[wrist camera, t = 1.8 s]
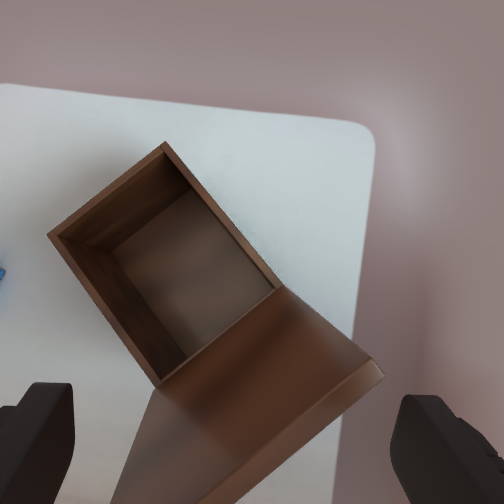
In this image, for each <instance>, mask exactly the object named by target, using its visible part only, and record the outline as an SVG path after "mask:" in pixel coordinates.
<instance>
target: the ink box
mask: <svg viewBox="0 0 504 504" xmlns="http://www.w3.org/2000/svg"><path fill="white" fill-rule="evenodd" d="M4 273H5V271H4V270H2V269H1V268H0V279H1V278H2V276H3V275H4Z"/></svg>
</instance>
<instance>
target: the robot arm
mask: <svg viewBox="0 0 504 504" xmlns="http://www.w3.org/2000/svg"><path fill="white" fill-rule="evenodd" d="M74 445H75V425H74V405H73V389H72V386H71V384H70V383H45V382H35V383H33V384H32V385H31V386H30V387H29V389H28V390H27V392H26V393H25V395H24V396H23V397H22V399H21V400H20V402H19V403H18V405H17V406H3V407H1V408H0V504H54V501H55V499H56V497H57V494H58V492H59V489H60V487H61V485H62V482H63V480H64V478H65V475H66V473H67V471H68V468H69V466H70V463H71V459H72V456H73V451H74ZM390 457H391V462H392V466H393V469H394V471H395V473H396V475H397V477H398V479H399V481H400V483H401V485H402V487H403V489H404V491H405V493H406V495H407V497H408V499H409V501H410V503H411V504H504V460H503V459H502V457H498V453H497V451H496V450H495V449H494V448H493V447H492V446H491V444H490V443H489V442H488V441H487V440H486V438H485V437H484V436H483V435H482V434H481V433H480V432H478V431H477V430H476V429H475V428H473V427H472V426H471V425H469V424H468V423H467V422H465V421H464V420H463V419H462V418H457V417H456V416H455V415H454V414H453V412H452V411H451V410H450V409H449V408H448V406H447V405H446V404H445V403H444V401H443V400H442V399H441V398H440V397H438V396H435V395H406V396H404V398H403V399H402V402H401V405H400V409H399V413H398V416H397V420H396V424H395V428H394V431H393V435H392V438H391V443H390Z"/></svg>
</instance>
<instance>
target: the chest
mask: <svg viewBox="0 0 504 504" xmlns="http://www.w3.org/2000/svg"><path fill="white" fill-rule="evenodd" d="M47 236H48V238H49V239H50V241H51V242H52V243H53V245H54V246H55V248H56V249H57V250H58V252H59V253H60V255H61V256H62V257H63V259H64V260H65V262H66V263H67V264H68V266H69V267H70V269H71V270H72V271H73V273H74V274H75V276H76V277H77V278H78V280H79V281H80V283H81V284H82V285H83V287H84V288H85V290H86V291H87V292H88V294H89V295H90V297H91V298H92V299H93V301H94V302H95V304H96V305H97V307H98V308H99V309H100V311H101V312H102V314H103V315H104V316H105V318H106V319H107V321H108V322H109V323H110V325H111V326H112V328H113V329H114V330H115V332H116V333H117V335H118V336H119V337H120V339H121V340H122V342H123V343H124V344H125V346H126V347H127V349H128V350H129V351H130V353H131V354H132V356H133V357H134V358H135V360H136V361H137V363H138V364H139V365H140V367H141V368H142V370H143V371H144V372H145V374H146V375H147V377H148V378H149V379H150V381H151V382H152V384H153V385H154V387H155V388H157V387H158V386H159V385H160V384H162V383H163V382H164V381H165V380H167V379H168V378H169V377H170V376H171V375H173V374H174V373H175V372H176V371H178V370H179V369H180V368H181V367H182V366H184V365H185V364H186V363H187V362H189V361H190V360H191V359H192V358H194V357H195V356H196V355H197V354H198V353H200V352H201V351H202V350H203V349H205V348H206V347H207V346H208V345H209V344H211V343H212V342H213V341H214V340H216V339H217V338H218V337H219V336H221V335H222V334H223V333H224V332H225V331H227V330H228V329H229V328H230V327H232V326H233V325H234V324H235V323H236V322H238V321H239V320H240V319H241V318H243V317H244V316H245V315H246V314H248V313H249V312H250V311H251V310H252V309H254V308H255V307H256V306H257V305H259V304H260V303H261V302H262V301H263V300H265V299H266V298H267V297H268V296H270V295H271V294H272V293H273V292H275V291H276V290H277V289H278V288H279V287H281V286H282V285H283V283H282V282H281V281H280V280H279V279H278V277H277V276H276V275H275V274H274V272H273V271H272V270H271V269H270V268H269V266H268V265H267V264H266V263H265V261H264V260H263V259H262V258H261V257H260V255H259V254H258V253H257V252H256V251H255V249H254V248H253V247H252V246H251V244H250V243H249V242H248V241H247V240H246V238H245V237H244V236H243V235H242V233H241V232H240V231H239V230H238V229H237V227H236V226H235V225H234V224H233V222H232V221H231V220H230V219H229V218H228V216H227V215H226V214H225V213H224V211H223V210H222V209H221V208H220V207H219V205H218V204H217V203H216V202H215V201H214V199H213V198H212V197H211V196H210V194H209V193H208V192H207V191H206V190H205V188H204V187H203V186H202V185H201V183H200V182H199V181H198V180H197V179H196V177H195V176H194V175H193V174H192V172H191V171H190V170H189V169H188V168H187V166H186V165H185V164H184V163H183V161H182V160H181V159H180V158H179V157H178V155H177V154H176V153H175V152H174V151H173V149H172V148H171V147H170V146H169V144H168V143H167V142H166V141H165V142H163V143H162V144H161V145H160V146H158V147H157V148H156V149H154V150H153V151H152V152H151V153H149V154H148V155H147V156H146V157H144V158H143V159H142V160H141V161H139V162H138V163H137V164H135V165H134V166H133V167H132V168H130V169H129V170H128V171H127V172H125V173H124V174H123V175H121V176H120V177H119V178H118V179H116V180H115V181H114V182H113V183H111V184H110V185H109V186H108V187H106V188H105V189H104V190H102V191H101V192H100V193H99V194H97V195H96V196H95V197H94V198H92V199H91V200H90V201H89V202H87V203H86V204H85V205H83V206H82V207H81V208H80V209H78V210H77V211H76V212H75V213H73V214H72V215H71V216H69V217H68V218H67V219H66V220H64V221H63V222H62V223H61V224H59V225H58V226H57V227H56V228H54V229H53V230H52V231H50V232H49V233H48V234H47Z"/></svg>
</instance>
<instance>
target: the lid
mask: <svg viewBox="0 0 504 504" xmlns="http://www.w3.org/2000/svg"><path fill="white" fill-rule="evenodd" d="M384 378H385V374H384V373H383V371H382V370H381V369H380V367H379V366H378V365H377V364H376V363H375V361H374V360H373V358H372V357H370V356H369V355H368V354H367V353H366V352H364V351H363V350H362V349H361V348H359V347H358V346H357V345H356V344H355V343H353V342H352V341H351V340H350V339H349V338H347V337H346V336H345V335H344V334H343V333H341V332H340V331H339V330H338V329H337V328H335V327H334V326H333V325H332V324H331V323H329V322H328V321H327V320H326V319H325V318H323V317H322V316H321V315H320V314H319V313H317V312H316V311H315V310H314V309H313V308H311V307H310V306H309V305H308V304H307V303H305V302H304V301H303V300H302V299H301V298H299V297H298V296H297V295H296V294H295V293H293V292H292V291H291V290H290V289H289V288H287V287H286V286H285V285H282V286H281V287H279V288H278V289H277V290H276V291H275V292H273V293H272V294H271V295H270V296H268V297H267V298H266V299H265V300H263V301H262V302H261V303H260V304H259V305H257V306H256V307H255V308H254V309H252V310H251V311H250V312H249V313H248V314H246V315H245V316H244V317H243V318H241V319H240V320H239V321H238V322H236V323H235V324H234V325H233V326H232V327H230V328H229V329H228V330H227V331H225V332H224V333H223V334H222V335H221V336H219V337H218V338H217V339H216V340H214V341H213V342H212V343H211V344H209V345H208V346H207V347H206V348H205V349H203V350H202V351H201V352H200V353H198V354H197V355H196V356H195V357H194V358H192V359H191V360H190V361H189V362H187V363H186V364H185V365H184V366H182V367H181V368H180V369H179V370H178V371H176V372H175V373H174V374H173V375H171V376H170V377H169V378H168V379H167V380H165V381H164V382H163V383H162V384H160V385H159V386H158V387H157V388H155V389H154V390H153V393H152V395H151V398H150V400H149V403H148V406H147V408H146V411H145V413H144V416H143V419H142V421H141V424H140V427H139V429H138V432H137V434H136V437H135V440H134V442H133V445H132V447H131V450H130V453H129V455H128V458H127V460H126V463H125V466H124V468H123V471H122V473H121V476H120V479H119V481H118V484H117V486H116V489H115V492H114V494H113V497H112V499H111V502H110V504H234V503H236V502H237V501H238V500H239V499H240V498H242V497H243V496H244V495H245V494H246V493H248V492H249V491H250V490H251V489H252V488H254V487H255V486H256V485H257V484H258V483H260V482H261V481H262V480H263V479H264V478H266V477H267V476H268V475H269V474H270V473H272V472H273V471H274V470H275V469H276V468H278V467H279V466H280V465H281V464H282V463H284V462H285V461H286V460H287V459H288V458H290V457H291V456H292V455H293V454H294V453H296V452H297V451H298V450H299V449H300V448H302V447H303V446H304V445H305V444H306V443H308V442H309V441H310V440H311V439H312V438H314V437H315V436H316V435H317V434H318V433H319V432H321V431H322V430H323V429H324V428H325V427H327V426H328V425H329V424H330V423H331V422H333V421H334V420H335V419H336V418H337V417H339V416H340V415H341V414H342V413H343V412H345V411H346V410H347V409H348V408H349V407H351V406H352V405H353V404H354V403H355V402H357V401H358V400H359V399H360V398H361V397H362V396H364V395H365V394H366V393H367V392H369V391H370V390H371V389H372V388H373V387H375V386H376V385H377V384H378V383H379V382H381V381H382V380H383V379H384Z"/></svg>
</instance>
